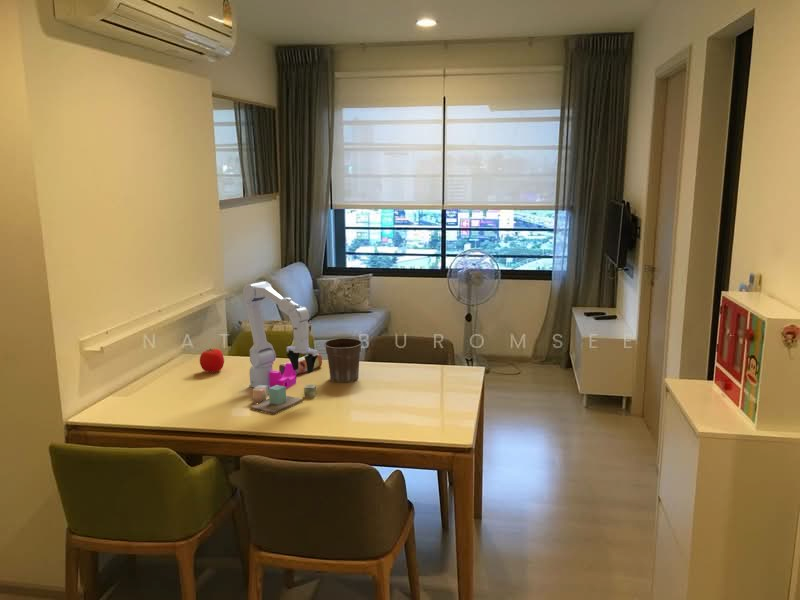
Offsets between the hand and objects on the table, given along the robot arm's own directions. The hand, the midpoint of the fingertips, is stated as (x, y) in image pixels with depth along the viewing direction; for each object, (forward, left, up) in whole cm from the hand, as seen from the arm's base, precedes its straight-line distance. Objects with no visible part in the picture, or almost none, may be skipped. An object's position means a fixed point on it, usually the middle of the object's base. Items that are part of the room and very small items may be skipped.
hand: (303, 371), depth 252 cm
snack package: (-23, +24, -11) cm, 35 cm away
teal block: (-2, -13, -9) cm, 16 cm away
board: (-2, -13, -10) cm, 17 cm away
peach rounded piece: (-11, -13, -10) cm, 20 cm away
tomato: (-59, +6, -11) cm, 61 cm away
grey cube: (-15, -8, -11) cm, 20 cm away
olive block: (+2, +2, -11) cm, 11 cm away
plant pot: (+1, +26, -11) cm, 28 cm away
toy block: (-17, +8, -11) cm, 21 cm away
